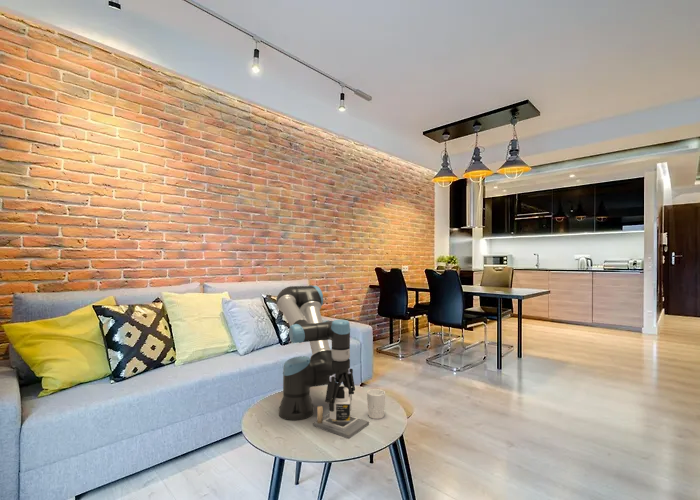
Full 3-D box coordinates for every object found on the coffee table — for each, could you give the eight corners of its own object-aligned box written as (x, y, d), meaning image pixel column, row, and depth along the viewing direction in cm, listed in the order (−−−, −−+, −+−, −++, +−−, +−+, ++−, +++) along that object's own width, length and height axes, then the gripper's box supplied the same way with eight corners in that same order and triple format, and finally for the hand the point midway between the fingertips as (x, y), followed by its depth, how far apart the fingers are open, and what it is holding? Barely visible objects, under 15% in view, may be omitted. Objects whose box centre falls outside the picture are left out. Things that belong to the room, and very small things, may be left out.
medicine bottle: (331, 421, 139) (332, 390, 139) (332, 414, 146) (332, 384, 146) (349, 421, 139) (350, 390, 139) (349, 414, 146) (349, 384, 146)
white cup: (384, 420, 147) (384, 396, 147) (365, 418, 148) (365, 394, 148) (386, 412, 154) (386, 389, 155) (368, 411, 156) (368, 388, 156)
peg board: (312, 425, 142) (312, 407, 142) (334, 413, 153) (334, 396, 153) (348, 438, 131) (348, 419, 132) (368, 424, 143) (368, 406, 143)
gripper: (330, 366, 132) (330, 427, 131) (363, 354, 150) (363, 407, 149) (315, 363, 136) (315, 421, 136) (349, 351, 155) (349, 403, 154)
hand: (340, 414), depth 143 cm, fingers closed on medicine bottle, 10 cm apart
